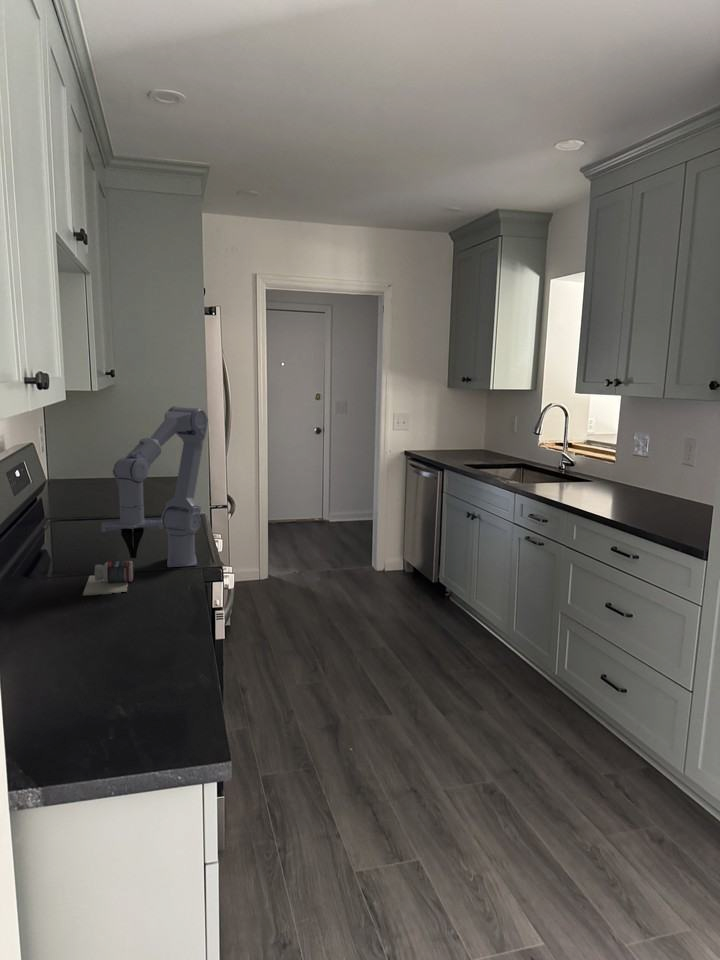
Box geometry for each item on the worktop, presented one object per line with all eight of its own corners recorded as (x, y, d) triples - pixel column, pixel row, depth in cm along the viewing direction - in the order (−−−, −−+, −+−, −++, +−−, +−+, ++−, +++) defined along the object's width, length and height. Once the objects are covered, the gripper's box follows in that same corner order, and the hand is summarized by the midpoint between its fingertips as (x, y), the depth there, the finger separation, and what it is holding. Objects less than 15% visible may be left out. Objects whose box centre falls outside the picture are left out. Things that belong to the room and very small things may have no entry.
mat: (89, 577, 170) (89, 575, 170) (130, 574, 173) (129, 573, 173) (82, 595, 157) (82, 594, 157) (126, 592, 160) (126, 591, 160)
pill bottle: (131, 563, 164) (93, 565, 162) (132, 583, 165) (94, 585, 163) (133, 558, 169) (96, 560, 167) (133, 578, 170) (97, 580, 168)
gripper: (99, 509, 158) (101, 563, 160) (161, 507, 161) (163, 560, 164) (102, 503, 164) (104, 555, 167) (162, 501, 168) (163, 552, 171)
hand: (133, 557), depth 166 cm, fingers closed
